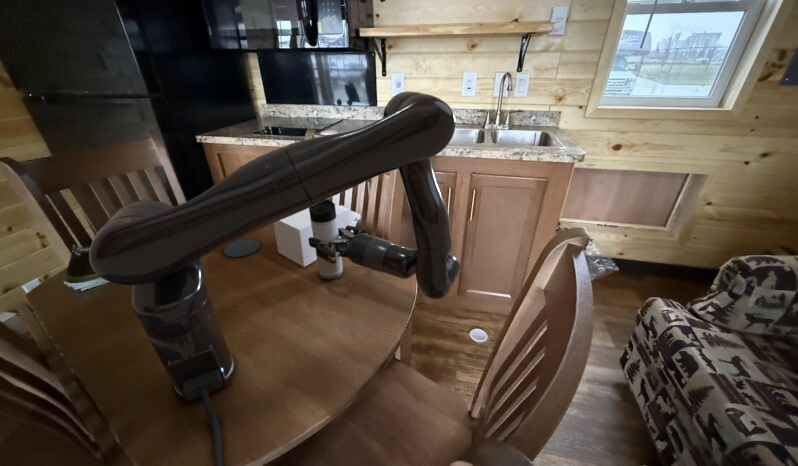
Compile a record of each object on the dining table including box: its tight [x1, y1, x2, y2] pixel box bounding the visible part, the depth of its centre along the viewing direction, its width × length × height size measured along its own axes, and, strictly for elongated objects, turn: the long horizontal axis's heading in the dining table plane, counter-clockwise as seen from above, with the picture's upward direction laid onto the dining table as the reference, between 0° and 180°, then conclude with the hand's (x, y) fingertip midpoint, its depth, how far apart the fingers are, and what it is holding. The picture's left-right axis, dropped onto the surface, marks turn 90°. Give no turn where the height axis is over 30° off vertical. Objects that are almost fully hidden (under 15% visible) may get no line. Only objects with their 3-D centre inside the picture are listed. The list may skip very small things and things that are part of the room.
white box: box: [273, 204, 361, 268], centre depth 96 cm, size 12×12×26 cm
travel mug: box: [309, 199, 344, 280], centre depth 80 cm, size 6×7×20 cm
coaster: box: [223, 238, 261, 259], centre depth 94 cm, size 10×10×1 cm
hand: (319, 235), depth 80 cm, fingers closed on travel mug, 6 cm apart
